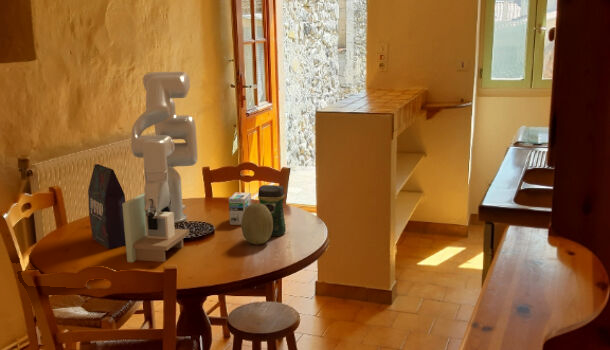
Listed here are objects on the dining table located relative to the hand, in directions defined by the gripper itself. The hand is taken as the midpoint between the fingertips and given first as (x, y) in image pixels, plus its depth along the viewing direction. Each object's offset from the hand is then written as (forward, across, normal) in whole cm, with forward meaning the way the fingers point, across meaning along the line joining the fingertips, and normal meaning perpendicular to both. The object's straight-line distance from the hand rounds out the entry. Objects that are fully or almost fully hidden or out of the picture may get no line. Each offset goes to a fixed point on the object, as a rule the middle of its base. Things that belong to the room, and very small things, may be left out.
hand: (159, 225), depth 204 cm
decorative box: (+10, -8, -24) cm, 28 cm away
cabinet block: (+4, 0, 0) cm, 4 cm away
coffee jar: (+10, -28, +32) cm, 43 cm away
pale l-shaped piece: (+10, 0, 0) cm, 10 cm away
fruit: (+10, -16, +30) cm, 35 cm away
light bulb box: (+10, -41, +14) cm, 45 cm away
